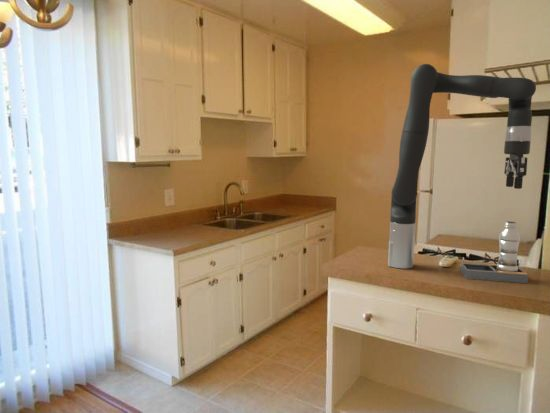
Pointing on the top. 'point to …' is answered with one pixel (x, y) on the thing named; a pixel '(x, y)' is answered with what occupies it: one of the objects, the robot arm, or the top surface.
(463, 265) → the grey tray
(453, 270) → the top surface
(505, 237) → the plastic bottle
